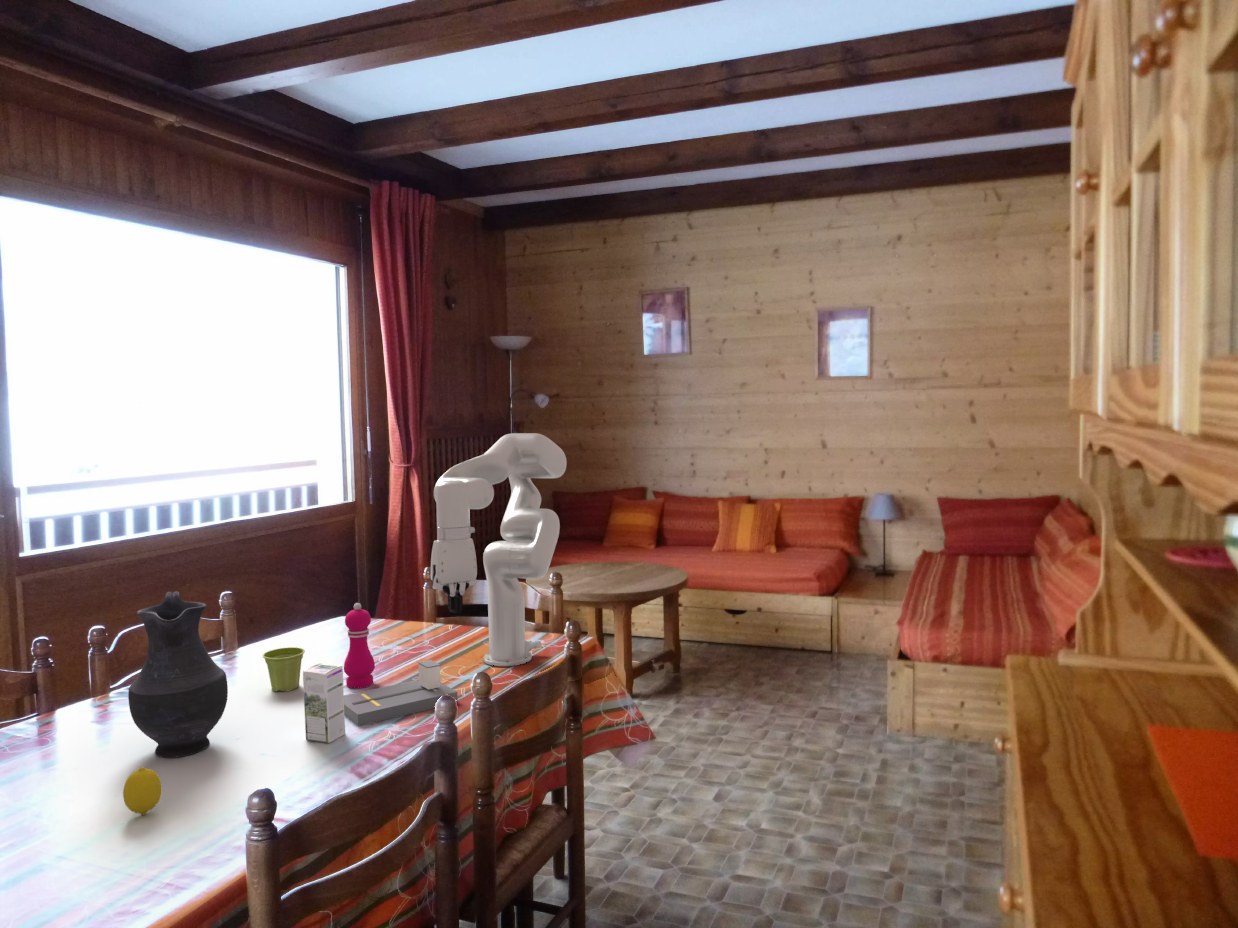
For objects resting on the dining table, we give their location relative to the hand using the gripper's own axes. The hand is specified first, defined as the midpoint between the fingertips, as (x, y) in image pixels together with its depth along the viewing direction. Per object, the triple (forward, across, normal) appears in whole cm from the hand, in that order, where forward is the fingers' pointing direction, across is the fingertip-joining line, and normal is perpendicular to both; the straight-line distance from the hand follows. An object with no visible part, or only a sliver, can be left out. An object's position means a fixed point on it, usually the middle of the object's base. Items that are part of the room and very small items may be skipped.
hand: (455, 611), depth 202 cm
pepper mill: (+19, +16, -20) cm, 32 cm away
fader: (+16, +7, 0) cm, 18 cm away
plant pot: (+19, +31, -29) cm, 47 cm away
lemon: (+19, +69, +24) cm, 75 cm away
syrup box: (+19, +34, +9) cm, 40 cm away
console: (+19, +15, 0) cm, 24 cm away
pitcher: (+19, +58, -5) cm, 61 cm away
